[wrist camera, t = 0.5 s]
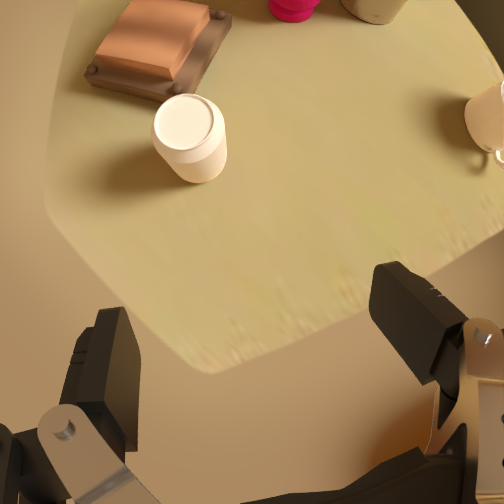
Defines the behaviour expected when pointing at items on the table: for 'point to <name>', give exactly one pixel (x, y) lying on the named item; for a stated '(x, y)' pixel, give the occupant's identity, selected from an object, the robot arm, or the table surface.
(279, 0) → the pepper mill
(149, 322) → the table surface
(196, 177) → the beverage can
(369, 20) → the robot arm
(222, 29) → the brick plinth
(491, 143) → the mug
